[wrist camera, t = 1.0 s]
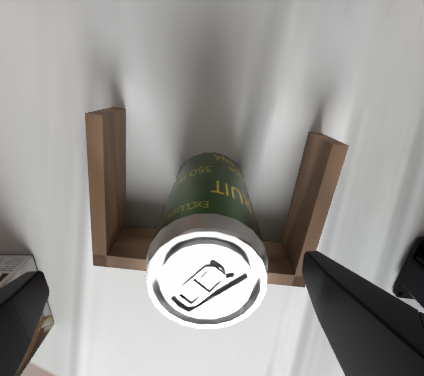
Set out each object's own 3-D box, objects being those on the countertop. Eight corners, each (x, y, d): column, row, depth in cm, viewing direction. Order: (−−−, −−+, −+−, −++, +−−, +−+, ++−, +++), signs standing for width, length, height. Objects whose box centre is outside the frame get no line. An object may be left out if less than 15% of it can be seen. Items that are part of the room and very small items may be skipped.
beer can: (211, 222, 23) (207, 350, 12) (164, 182, 22) (112, 284, 11) (256, 181, 22) (300, 284, 11) (209, 135, 20) (204, 197, 9)
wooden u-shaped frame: (321, 133, 20) (348, 145, 16) (289, 253, 24) (304, 287, 20) (112, 107, 20) (85, 113, 16) (114, 234, 24) (93, 265, 20)
